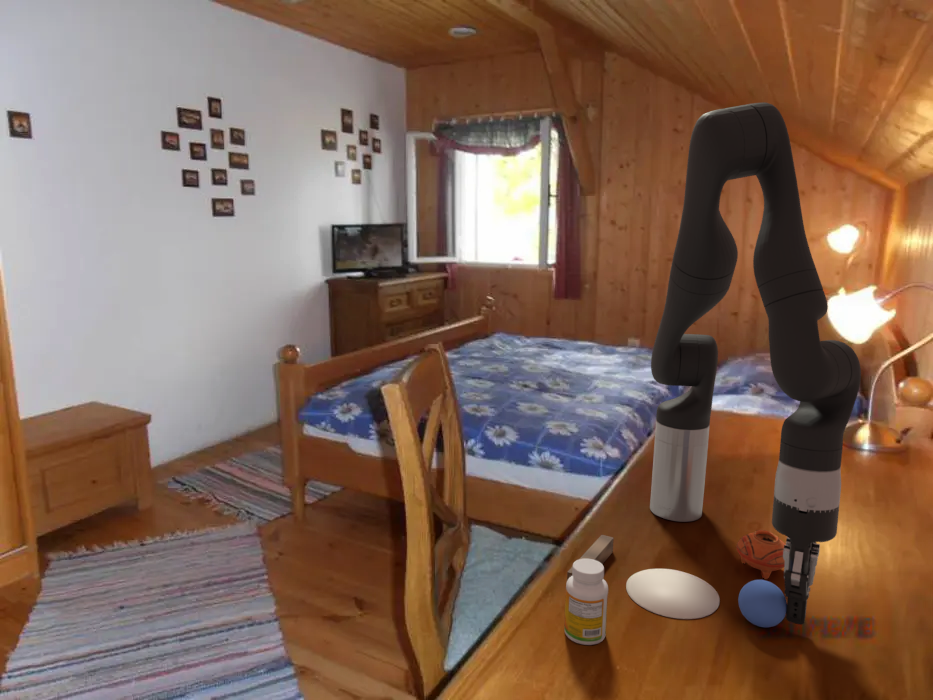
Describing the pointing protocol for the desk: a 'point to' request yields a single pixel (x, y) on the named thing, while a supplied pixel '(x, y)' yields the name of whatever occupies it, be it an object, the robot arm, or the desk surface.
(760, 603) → the ball
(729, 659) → the desk surface
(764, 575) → the pot
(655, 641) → the desk surface
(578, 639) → the supplement bottle
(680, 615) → the white round plate
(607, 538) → the wall
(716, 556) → the desk surface
